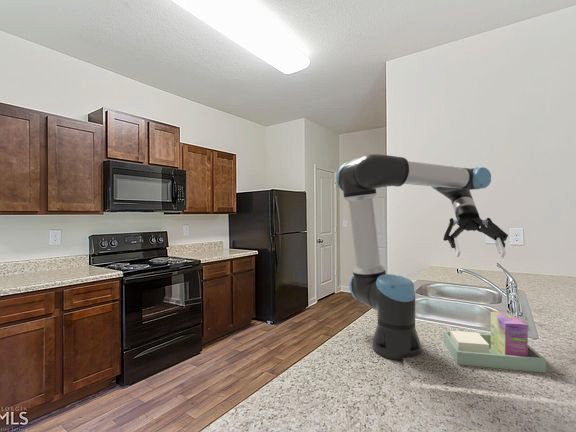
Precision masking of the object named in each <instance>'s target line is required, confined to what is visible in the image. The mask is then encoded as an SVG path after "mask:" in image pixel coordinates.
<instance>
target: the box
mask: <svg viewBox="0 0 576 432" xmlns="http://www.w3.org/2000/svg"><path fill="white" fill-rule="evenodd" d="M528 327H529V325H528V324H526V323H525V322H524V321H523V320H521V319H520V318H518V317H517V316H516V315H514V314H512V312H505V311H502V312H501V311H490V334H491V349H492V350H493V351H494V352H495V353H496V354H501V355H513V356H525V357H527V355H528V353H527V352H528V345H529V344H528V343H529V342H528V341H529V340H528V339H529V338H528V336H529V335H528V334H529V333H528V332H529V331H528V330H529V328H528Z"/></svg>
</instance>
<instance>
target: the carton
mask: <svg viewBox="0 0 576 432" xmlns="http://www.w3.org/2000/svg"><path fill="white" fill-rule="evenodd" d="M449 332H450V338H451V339H452V341H453V342H454V344H455V345H456V347H457V348H458V350H459V351H466V352H477V353H489V344H488V343H487V342H486V341H485V340H484V339H483V338H482V336H481V335H480V334H481V333H479V332H473V331H472V332H471V331H461V330H460V331H459V330H449Z"/></svg>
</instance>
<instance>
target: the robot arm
mask: <svg viewBox="0 0 576 432" xmlns="http://www.w3.org/2000/svg"><path fill="white" fill-rule="evenodd" d="M491 182H492V174H491V172H490V170H489V169H488V168H487V167H485V166H484V167H483V166H482V167H475V168H470V167H469V168H467V167H461V166H460V167H458V166H452V165H451V166H450V165H444V164H441V165H440V164H435V163H434V164H433V163H425V162H417V161H410V160H408V158H406V157H402V156H396V155H395V156H394V155H390V154H389V155H388V154H387V155H386V154H380V153H378V154H377V153H374V154H373V153H372V154H365V155H363V156H360V157H356V158H354V159H350V160H348V161H347V162H345V163H343V164H342V165H341V166H340V167H339V169H338V170H337V173H336V184H337V186H338V189H340V190H341V191H342V192H343V199H344V200H345V201H347V202H348V207H349V215H350V222H351V223H350V224H351V231H352V239H353V249H354V256H355V257H354V258H355V265H356V266H355V267H354V268H353V270H352V276H351V278H350V280H349V291H350V293H351V296H352V297H353V298H354V299H355V300H357V302H359V303H360V304H361V305H365V306H367V307H369V308H372V309H374V310H375V311H376V314H377V317H376V318H377V319H376V320H377V324H376V328H375V331H374V335H373V337H372V342H371V344H372V350H373V351H374V352H375V353H377V354H378V355H379V356H381V357H384V358H387V359H390V360H396V361H403V360H404V359H405V358H407V359H409V358H414V357H415V358H416V357H418V356H420V355H421V354H422V351H423V349H422V348H423V347H422V343H421V341H420V337H419V334H418V332H417V329H416V291H415V284H414V282H413V281H412V280H410V279H409V278H407V277H404V276H401V275H396V274H390V273H389V274H387V272H386V268H385V266H384V265H382V264H381V259H380V258H381V257H380V251H379V249H380V248H379V241H378V235H377V226H376V215H375V208H374V198H375V197H376V195H377V189H379V188H386V187H401V186H403V185H414V186H425V187H431V188H432V189H433V190H435V191H437V192H439V193H440V194H441V195H443V196H444V197H446V198H447V199H448V200H450V202H451V204H452V207H453V211H454V215H455V218H456V219H454V218H453V217H451V218H449V221H448V226H447V229H446V231H445V233H444V235H443V241H445V242H447V241H448V243H449V245H450V247H451V249H454V251H455V252H454V253H455V255H456V256H455V257H457V258H460V255H461V249H460V245H459V242H458V239H457V237H459V236H460V235H461V234H462V233H463V232H464V231H466V232H469V231H472V232H473V231H474V232H475V231H476V232H477V231H478V232H479V233H482V234H484V235H485V236H487V237H489V238H491V239H493V240H494V241H495V246H496V248H497V251H498V254H499V256H500V258H504V257H505V255H506V253H507V252H506V250H505V248H506V243H505V242H506V241H507V240H508V237H509V234H508V233H506V232H505V231H504V230H502V229H501V228H500V227H499V226H498V225H497V224H496V223H494V222H493V220H492V219H491V218H490V217H487V218H486V219H482V218H481V217H480V214H479V211H478V209H477V206H476V203H475V201H474V198H473V196H472V193H471V191H473V190H481V189H487V187H489V186H490V184H491ZM455 225H456V226H457V225H458V227H457V228H456V229H455V230H454V231H453V233H452V234H451V232H452V229H453V227H455Z"/></svg>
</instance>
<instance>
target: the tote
mask: <svg viewBox="0 0 576 432" xmlns="http://www.w3.org/2000/svg"><path fill="white" fill-rule="evenodd" d="M479 334H480V335H481V336H482V338H483V339H484V340H485V341H486V342H487V343H488V344H489V353H477V352H466V351H459V350H458V348H457V347H456V345H455V344H454V342H453V341H452V339H451V338H450V331H446V330H443V335H442V336H443V337H442V339H443V343H444V345H445V346H446V349H447V350H448V352H449V353H450V355H451V357H452V358H453V360H454V361H455V363H456V365H460V366H472V367H473V366H474V367H482V368H490V369H491V368H492V369H501V370H502V369H505V370H513V371H524V372H533V373H534V372H537V373H546V374H547V358H545V357H544V356H543V355H541V354H540V353H539V352H538V351H536V350H535V349H534V348H532V347H531V346H530V345H529V344H528V352H527V353H528V355H527V357H525V356H513V355H501V354H496V353H495V352H494V351H493V350H492V349H491V333H489V334H488V333H479Z"/></svg>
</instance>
